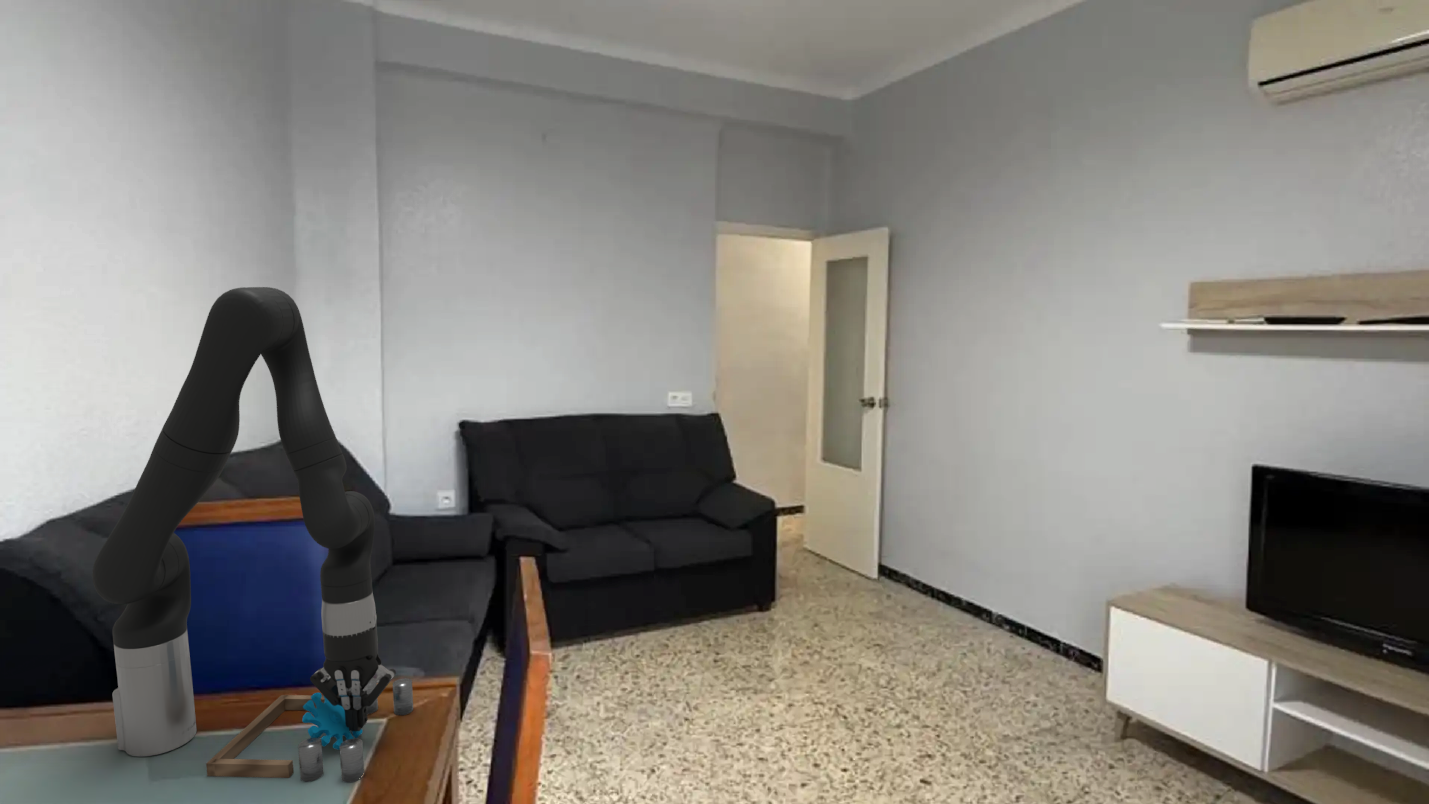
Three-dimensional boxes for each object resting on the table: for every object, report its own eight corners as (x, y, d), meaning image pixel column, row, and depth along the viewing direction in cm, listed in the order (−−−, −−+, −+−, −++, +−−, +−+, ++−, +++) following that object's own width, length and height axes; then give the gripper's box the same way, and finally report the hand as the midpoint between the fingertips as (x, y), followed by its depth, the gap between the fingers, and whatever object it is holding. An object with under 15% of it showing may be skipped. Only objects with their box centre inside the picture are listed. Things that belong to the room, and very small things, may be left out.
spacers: (296, 781, 114) (293, 749, 113) (363, 705, 135) (361, 677, 134) (358, 782, 114) (356, 750, 113) (416, 706, 134) (414, 678, 134)
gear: (334, 755, 118) (295, 701, 119) (309, 779, 119) (270, 725, 120) (381, 725, 128) (345, 676, 130) (358, 747, 129) (322, 698, 131)
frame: (207, 776, 115) (206, 763, 115) (282, 706, 134) (281, 694, 134) (289, 777, 115) (288, 765, 114) (352, 707, 134) (351, 696, 134)
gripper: (293, 633, 118) (302, 741, 120) (381, 634, 118) (388, 742, 120) (319, 613, 125) (327, 715, 128) (402, 613, 125) (408, 716, 127)
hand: (357, 728), depth 124 cm, fingers closed
